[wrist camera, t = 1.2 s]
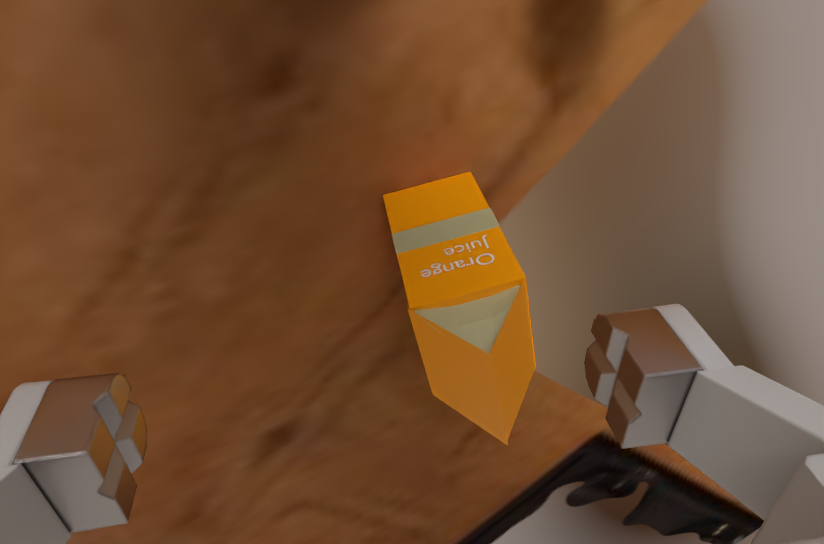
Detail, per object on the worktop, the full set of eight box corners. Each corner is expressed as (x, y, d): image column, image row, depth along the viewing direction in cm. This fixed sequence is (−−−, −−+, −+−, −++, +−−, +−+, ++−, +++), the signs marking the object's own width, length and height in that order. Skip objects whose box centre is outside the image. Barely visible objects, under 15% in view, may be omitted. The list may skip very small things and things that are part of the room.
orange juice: (471, 170, 47) (559, 335, 32) (485, 254, 53) (566, 431, 37) (379, 194, 47) (421, 372, 32) (403, 276, 53) (448, 463, 37)
